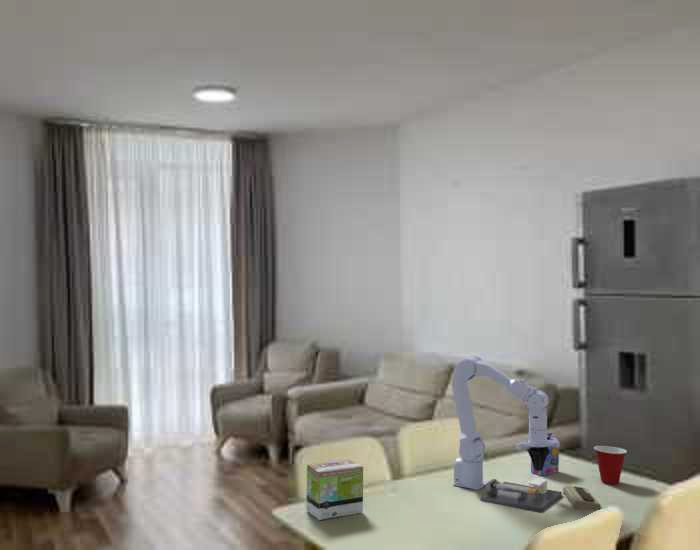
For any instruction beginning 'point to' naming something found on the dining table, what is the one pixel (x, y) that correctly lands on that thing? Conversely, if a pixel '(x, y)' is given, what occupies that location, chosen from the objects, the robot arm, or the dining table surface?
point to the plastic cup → (610, 463)
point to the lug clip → (539, 485)
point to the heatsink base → (519, 497)
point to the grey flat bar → (515, 487)
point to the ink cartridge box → (549, 460)
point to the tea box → (334, 489)
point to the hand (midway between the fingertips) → (538, 470)
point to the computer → (580, 498)
